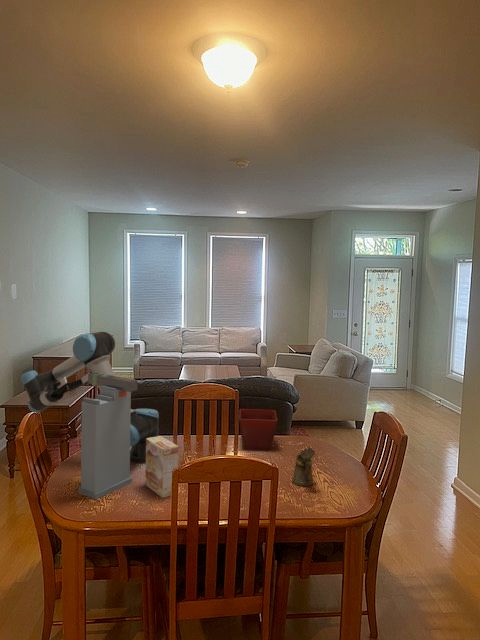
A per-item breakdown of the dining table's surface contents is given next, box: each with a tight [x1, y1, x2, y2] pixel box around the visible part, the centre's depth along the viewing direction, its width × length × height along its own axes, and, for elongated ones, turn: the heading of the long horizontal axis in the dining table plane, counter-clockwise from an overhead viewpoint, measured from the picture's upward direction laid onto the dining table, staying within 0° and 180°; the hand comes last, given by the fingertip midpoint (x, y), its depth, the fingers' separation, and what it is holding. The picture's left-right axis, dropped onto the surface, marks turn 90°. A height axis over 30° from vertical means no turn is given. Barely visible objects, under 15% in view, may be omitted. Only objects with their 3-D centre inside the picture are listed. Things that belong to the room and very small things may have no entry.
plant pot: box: [238, 408, 278, 451], centre depth 241 cm, size 19×19×17 cm
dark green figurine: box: [291, 447, 315, 487], centre depth 195 cm, size 9×14×18 cm, turn 3°
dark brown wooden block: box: [87, 372, 138, 393], centre depth 189 cm, size 24×4×4 cm, turn 58°
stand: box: [77, 386, 133, 500], centre depth 185 cm, size 10×19×41 cm, turn 148°
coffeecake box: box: [144, 435, 179, 499], centre depth 186 cm, size 15×7×20 cm, turn 37°
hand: (78, 377), depth 207 cm, fingers open, 13 cm apart
